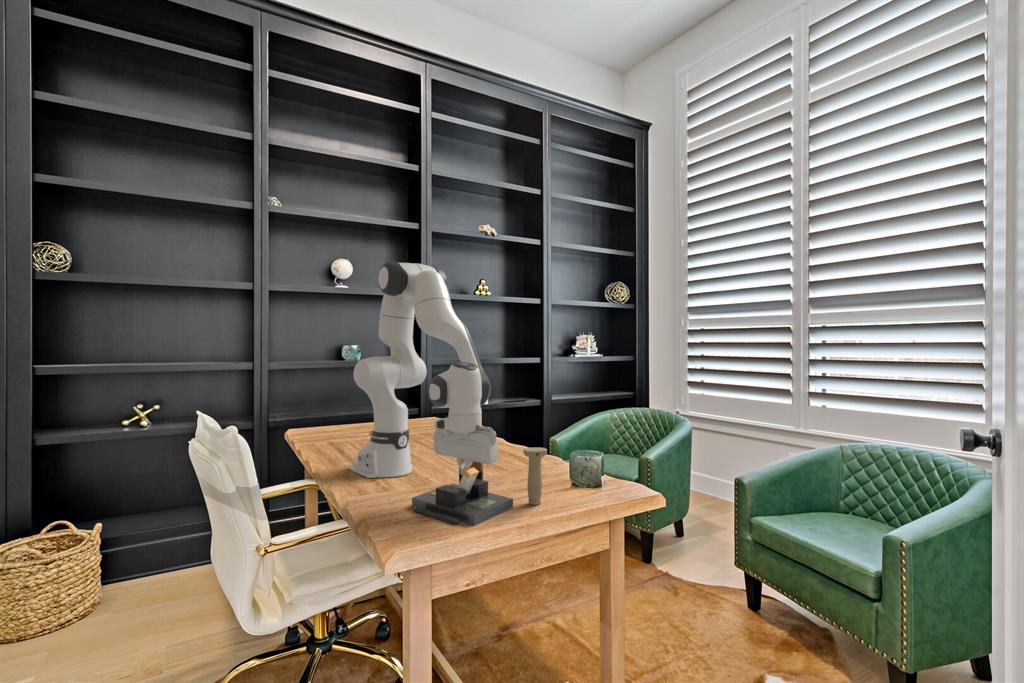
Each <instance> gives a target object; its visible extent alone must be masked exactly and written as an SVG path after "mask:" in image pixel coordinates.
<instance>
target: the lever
mask: <svg viewBox="0 0 1024 683" xmlns="http://www.w3.org/2000/svg"><path fill="white" fill-rule="evenodd" d="M478 473H479V471H477V470H476V469H475V468H470V469H467V470H465V471H464V473H463V476H462V479H461V481H460V483H459V482H458V485H459V486H458V488H462V489H466V496H467V495H469V494H471V487H472V485H473V483H474V481H475V479H476V476H477V475H478Z"/></svg>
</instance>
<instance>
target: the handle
mask: <svg viewBox="0 0 1024 683" xmlns="http://www.w3.org/2000/svg"><path fill="white" fill-rule="evenodd" d="M547 454H548V449H547V448H545V447H540V446H539V447H525V448H523V455H524V456H525V457H527V458H528V472H527V497H528V504H529V505H531V506H538V505H540V504H541V503H542V502H541V501H542V500H541V499H542V493H543V492H542V491H543V477H542V476H543V475H542V458H543V457H545V456H547Z"/></svg>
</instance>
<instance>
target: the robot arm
mask: <svg viewBox="0 0 1024 683" xmlns="http://www.w3.org/2000/svg"><path fill="white" fill-rule="evenodd" d="M377 283H378V287H379V289H380V291H381V293H383V297H382V301H381V307H380V312H379V323H378V331H377V332H378V337H379V340H380V341H381V342H382V343H383V344H385V345H386V346H387V347H389V349H390V355H389V356H387V355H386V356H371V357H367V358H363V359H360V360H359V361H357V363H356V364H355V365H354V369H353V379H354V382H355V384H356V385H357V387H359V388H360V389H361V390H362V391H364V392H365V393H366V395H367V396H368V398H369V399H370V402H371V406H372V409H373V430H371V431H368V433H370V434H368V436H370V440H369V442H367V443H366V444H365V445H364V446H363V447H362V448H361V449H359V450H358V452H357V454H356V463H354V464H351V465H349V467H348V468H349V469H348V470H350V471H352V472H354V473H356V474H358V475H360V476H363V477H365V478H367V479H373V478H395V477H401V476H406V475H408V474H411V473H412V472H413V467H414V465H413V463H412V459H411V458H412V457H411V448H410V444H409V440H410V429H409V409H408V407H407V405H406V403H404V402H403V401H401V400H400V399H398V398H397V397H396V395H395V394H396V393H395V389H409V388H412V387H415V386H418V385H421V384H423V382H424V381H425V379H426V378H427V366H426V364H425V361H424V360H423V359H422V358H421V357H419V354H418V353H417V352H416V351H417V350H415V345H414V338H413V337H414V323H415V322H414V321H415V320H416V323H417V325H418V327H419V328H420V330H421V331H422V332H424V333H425V334H426V335H429V336H431V337H433V338H436V339H439V340H442V341H444V342H446V343H448V344H449V345H451V346H452V347H453V348H454V349H455V351H456V353H457V356H458V358H459V360H460V361H459V362H458V361H457V362H454V363H452V364H451V365H450V366H449V369H448V370H446V371H444V372H442V373H440V374H435V375H434V376H433V377H432V378H431V379H430V381H429V384H428V386H427V395H428V398H429V401H430V402H431V403H432V404H433V405H434V406H435V407H436V408H442V409H447V408H448V409H449V410H448V416H446V417H444V418H443V417H442V418H440V419H437V420H435V421H434V428H435V430H434V434H433V450H434V453H435V454H436V455H440V456H446V457H450V458H456V463H457V465H458V468H459V467H460V474H461V475H463V473H464V471H465V470H467V469H469V468H470V467H471V465H472V463H473V461H475V462H480V463H483V464H486V465H491V464H494V463H496V462H497V461H498V459H499V450H498V448H499V447H498V442H497V433H496V431H495V429H493V427H491V426H484V425H482V421H483V420H482V419H483V418H482V413H483V411H482V408H481V407H482V406H484V404H486V403H487V402H488V400H489V398H490V397H491V394H492V385H491V382H490V379H489V377H488V375H487V374H486V371H485V370H484V368H483V365H482V364H481V360H480V358H479V355H478V352H477V349H476V347H475V344H474V342H473V339H472V338H473V337H472V335H471V334H470V332H469V329H468V327H467V324H465V323H464V322H463V321H462V320H460V319H459V317H458V315H456V313H455V310H454V307H453V306H452V302H451V296H450V292H449V289H448V287H447V286H448V279H447V275H446V273H445V271H444V270H443V269H441V268H440V267H436V266H434V265H431V266H430V265H426V264H424V263H416V262H415V263H414V262H413V263H411V262H397V261H389V262H384V263H383V265H382V266H381V267H380V268H379V271H378V275H377Z"/></svg>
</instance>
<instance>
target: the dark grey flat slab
mask: <svg viewBox="0 0 1024 683" xmlns="http://www.w3.org/2000/svg"><path fill="white" fill-rule="evenodd" d="M413 511H414V512H415V513H418V514H422V515H424V516H427V517H431V518H434V519H436V520H441V521H443V522H447V523H450V524H453V525H458V524H460V521H459V520H458V519H455V518H451V517H448V516H445V515H441V514H438V513H435V512H431V511H428V510H425V509H421V508H418V507H416V508H415V507H414V509H413Z"/></svg>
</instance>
